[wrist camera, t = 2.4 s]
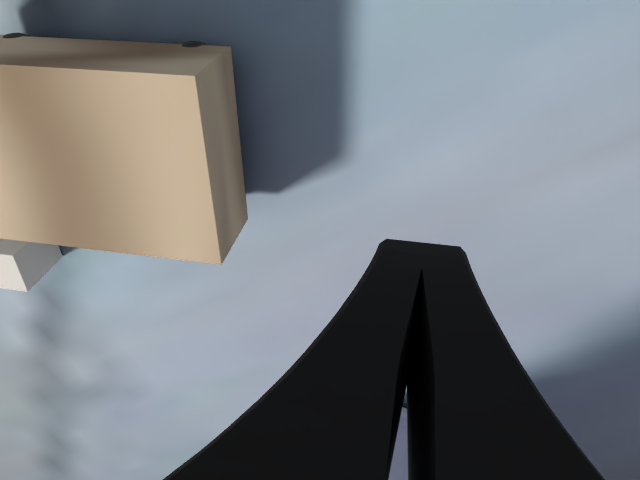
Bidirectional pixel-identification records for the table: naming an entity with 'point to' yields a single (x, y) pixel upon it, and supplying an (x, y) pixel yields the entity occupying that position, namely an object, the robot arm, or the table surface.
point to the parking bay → (25, 263)
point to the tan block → (120, 146)
